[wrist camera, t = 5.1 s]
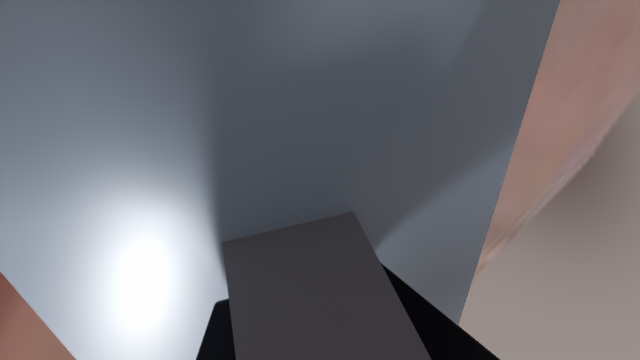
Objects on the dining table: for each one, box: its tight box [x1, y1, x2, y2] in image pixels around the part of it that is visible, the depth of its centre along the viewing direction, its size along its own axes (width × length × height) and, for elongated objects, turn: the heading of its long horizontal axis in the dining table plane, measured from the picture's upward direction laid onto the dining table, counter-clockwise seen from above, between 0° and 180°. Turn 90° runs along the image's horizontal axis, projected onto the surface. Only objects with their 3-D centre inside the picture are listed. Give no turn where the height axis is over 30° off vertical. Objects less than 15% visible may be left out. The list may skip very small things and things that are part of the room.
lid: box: [0, 0, 560, 360], centre depth 8 cm, size 14×11×5 cm
